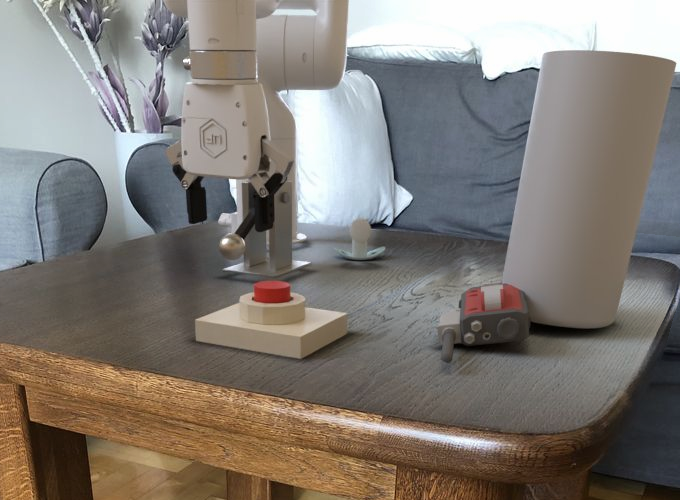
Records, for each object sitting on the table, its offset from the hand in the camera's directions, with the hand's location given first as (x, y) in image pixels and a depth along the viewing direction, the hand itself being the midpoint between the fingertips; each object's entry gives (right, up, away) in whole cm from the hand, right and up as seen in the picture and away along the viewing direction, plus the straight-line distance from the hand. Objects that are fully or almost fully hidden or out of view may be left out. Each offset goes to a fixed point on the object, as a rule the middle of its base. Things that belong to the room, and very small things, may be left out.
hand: (230, 226), depth 101 cm
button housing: (+6, -17, -17) cm, 25 cm away
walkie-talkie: (+27, -18, -19) cm, 38 cm away
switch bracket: (+4, -3, +10) cm, 11 cm away
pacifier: (+17, 0, +16) cm, 23 cm away
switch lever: (+2, +1, +4) cm, 5 cm away
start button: (+6, -14, -19) cm, 24 cm away
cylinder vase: (+37, -14, -11) cm, 41 cm away
